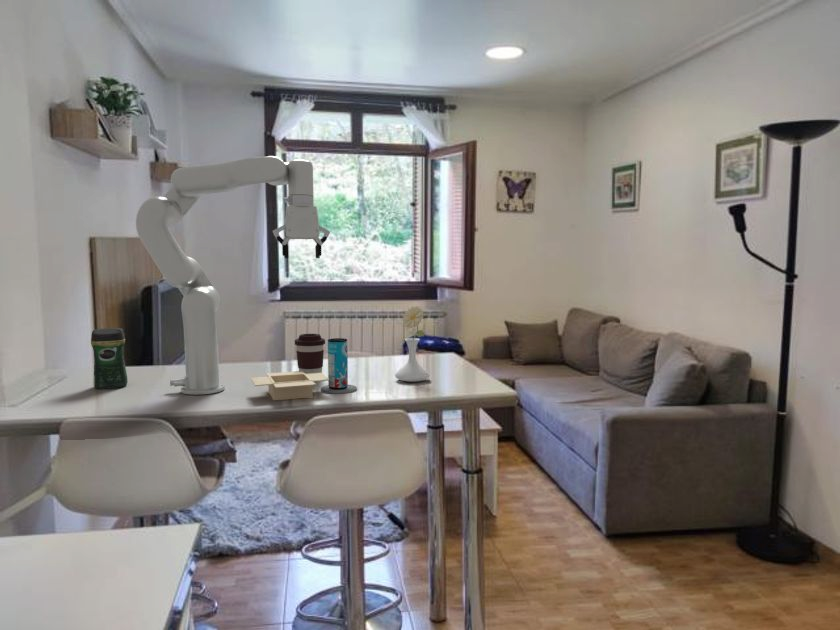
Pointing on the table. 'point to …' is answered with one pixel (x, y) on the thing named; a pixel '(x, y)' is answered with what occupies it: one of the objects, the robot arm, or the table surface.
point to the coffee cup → (310, 353)
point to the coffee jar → (109, 358)
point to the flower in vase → (412, 348)
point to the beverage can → (337, 363)
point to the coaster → (342, 391)
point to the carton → (289, 384)
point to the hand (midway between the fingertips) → (302, 258)
